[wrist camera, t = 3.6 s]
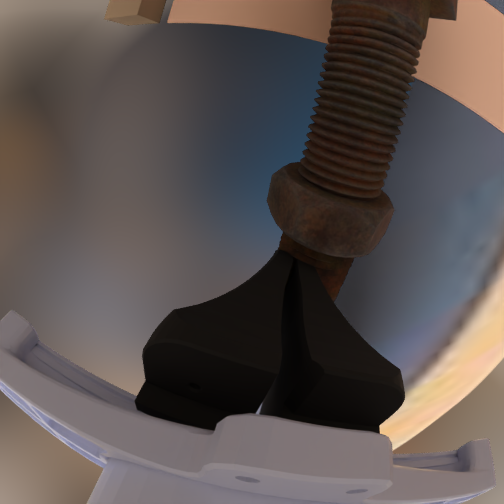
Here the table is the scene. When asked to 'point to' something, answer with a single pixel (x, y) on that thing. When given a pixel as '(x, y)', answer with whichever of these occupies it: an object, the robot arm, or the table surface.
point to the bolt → (352, 135)
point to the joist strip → (317, 28)
